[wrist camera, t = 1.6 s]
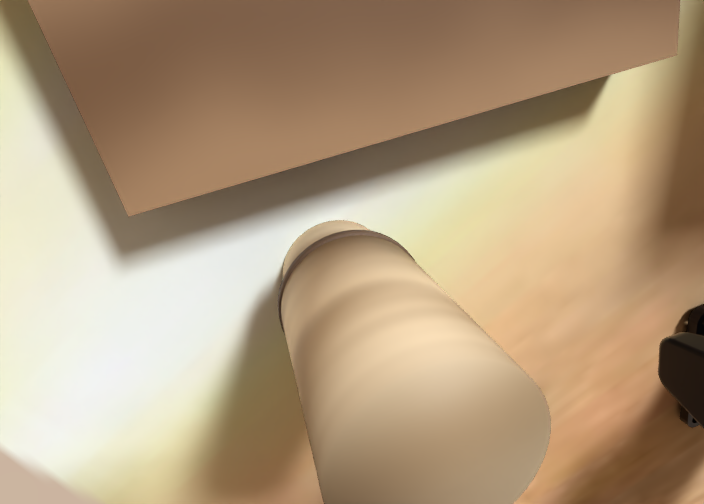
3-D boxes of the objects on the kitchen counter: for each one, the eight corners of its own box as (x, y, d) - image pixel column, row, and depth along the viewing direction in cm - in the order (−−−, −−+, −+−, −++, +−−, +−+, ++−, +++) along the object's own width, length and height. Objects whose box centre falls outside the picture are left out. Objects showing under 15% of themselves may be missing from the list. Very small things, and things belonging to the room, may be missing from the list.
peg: (406, 304, 16) (559, 498, 9) (292, 344, 15) (353, 588, 8) (382, 192, 14) (546, 318, 7) (253, 233, 14) (285, 415, 6)
